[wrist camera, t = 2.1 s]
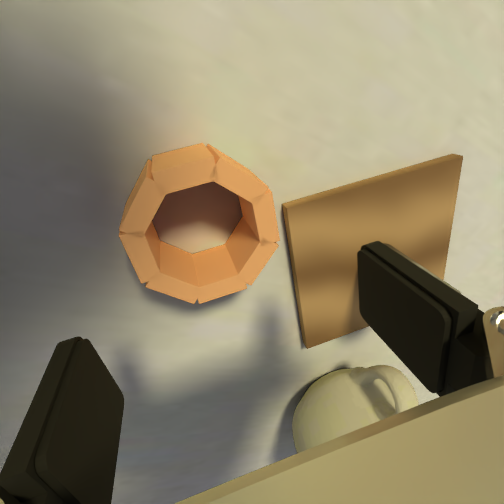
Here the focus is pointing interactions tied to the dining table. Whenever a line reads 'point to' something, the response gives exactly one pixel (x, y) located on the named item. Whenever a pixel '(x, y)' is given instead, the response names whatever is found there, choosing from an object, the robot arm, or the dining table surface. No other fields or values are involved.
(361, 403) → the teacup
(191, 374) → the dining table surface
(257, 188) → the ring
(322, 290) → the post plate
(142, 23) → the dining table surface
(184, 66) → the dining table surface
